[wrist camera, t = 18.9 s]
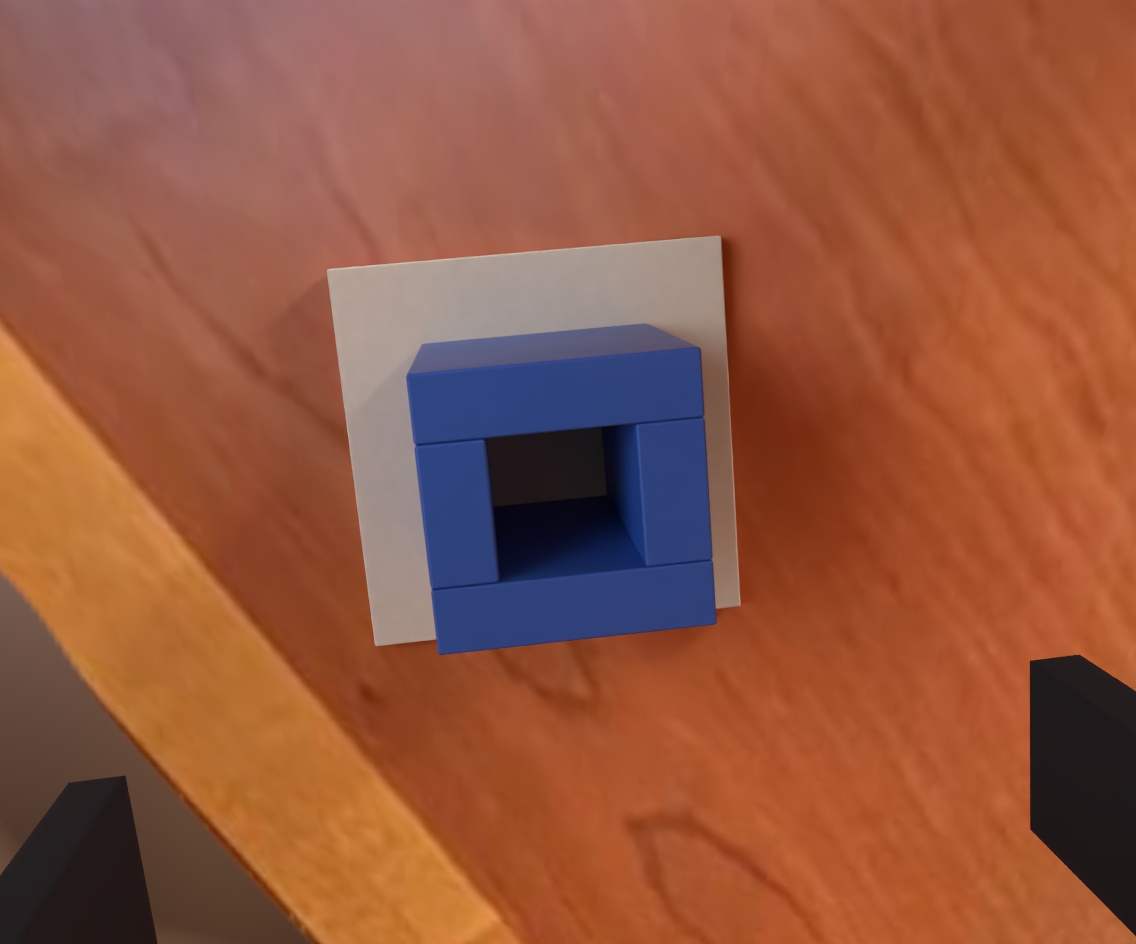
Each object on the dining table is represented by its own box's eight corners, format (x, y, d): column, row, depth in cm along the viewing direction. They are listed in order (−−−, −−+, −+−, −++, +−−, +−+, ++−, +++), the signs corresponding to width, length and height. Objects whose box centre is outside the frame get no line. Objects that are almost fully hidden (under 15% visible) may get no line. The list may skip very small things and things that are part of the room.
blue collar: (445, 563, 34) (438, 656, 27) (421, 343, 33) (405, 374, 25) (662, 540, 35) (717, 625, 27) (647, 322, 33) (701, 346, 26)
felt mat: (376, 641, 35) (374, 646, 35) (328, 268, 33) (326, 269, 32) (737, 601, 36) (741, 606, 36) (718, 235, 34) (721, 235, 33)
